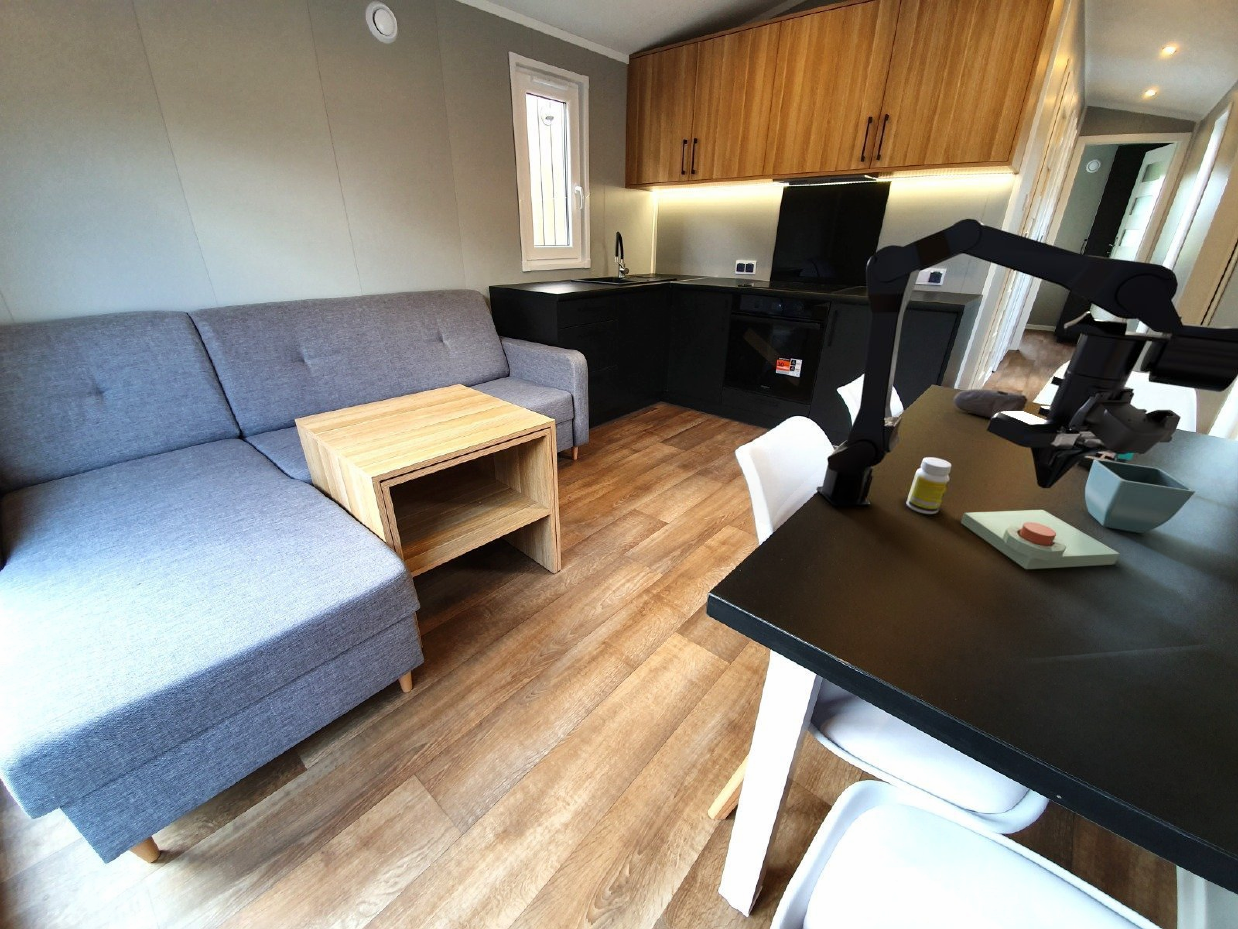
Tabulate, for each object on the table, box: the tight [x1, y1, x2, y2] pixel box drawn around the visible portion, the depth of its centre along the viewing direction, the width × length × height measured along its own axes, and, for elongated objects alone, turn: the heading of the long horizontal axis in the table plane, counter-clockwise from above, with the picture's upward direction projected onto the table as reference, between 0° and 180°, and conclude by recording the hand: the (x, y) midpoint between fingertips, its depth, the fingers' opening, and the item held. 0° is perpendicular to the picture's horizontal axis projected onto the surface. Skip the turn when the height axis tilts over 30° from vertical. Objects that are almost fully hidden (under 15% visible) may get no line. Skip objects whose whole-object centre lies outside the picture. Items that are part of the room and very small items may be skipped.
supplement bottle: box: [905, 456, 952, 515], centre depth 80 cm, size 5×5×8 cm
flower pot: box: [1084, 459, 1196, 534], centre depth 77 cm, size 9×9×9 cm
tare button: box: [1019, 522, 1056, 546], centre depth 68 cm, size 4×4×2 cm
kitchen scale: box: [960, 509, 1121, 570], centre depth 72 cm, size 15×13×4 cm
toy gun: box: [1076, 451, 1135, 470], centre depth 100 cm, size 10×12×5 cm
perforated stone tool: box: [953, 388, 1029, 419], centre depth 126 cm, size 15×5×7 cm, turn 45°
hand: (1043, 487), depth 66 cm, fingers closed
